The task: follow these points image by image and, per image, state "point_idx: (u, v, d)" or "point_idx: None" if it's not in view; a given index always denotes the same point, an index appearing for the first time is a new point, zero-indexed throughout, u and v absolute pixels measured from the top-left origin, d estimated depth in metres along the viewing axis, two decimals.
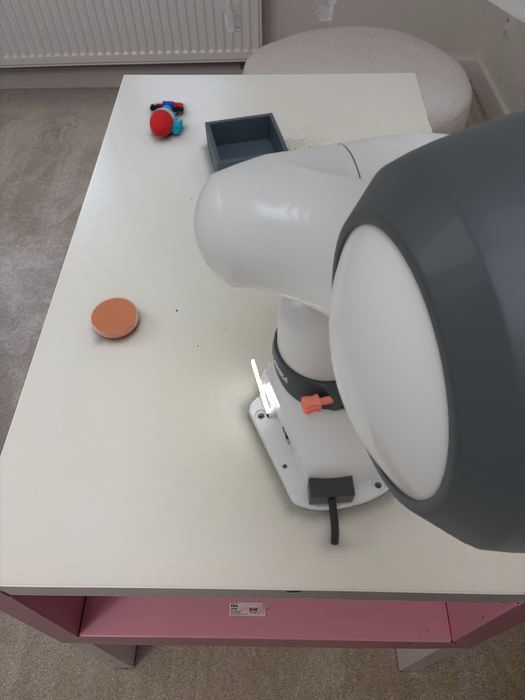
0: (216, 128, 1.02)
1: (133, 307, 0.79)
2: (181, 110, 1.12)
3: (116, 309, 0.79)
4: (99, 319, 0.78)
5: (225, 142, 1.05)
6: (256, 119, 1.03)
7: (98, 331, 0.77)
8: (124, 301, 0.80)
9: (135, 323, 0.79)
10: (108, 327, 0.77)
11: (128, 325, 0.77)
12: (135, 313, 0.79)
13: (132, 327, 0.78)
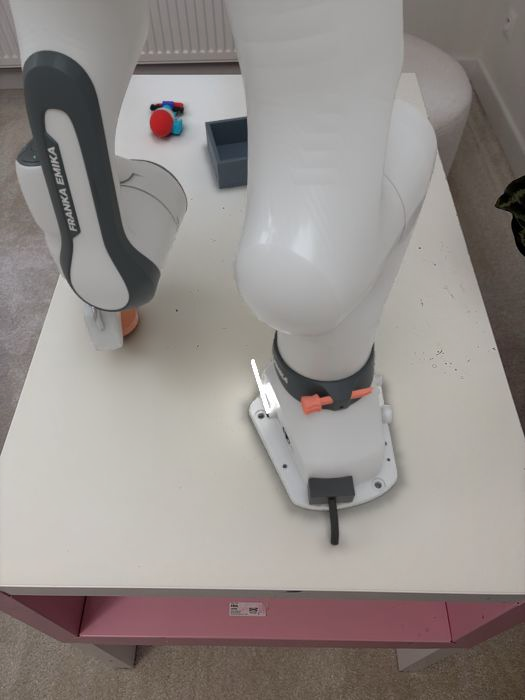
0: (216, 128, 1.02)
1: None
2: (181, 110, 1.12)
3: None
4: None
5: (225, 142, 1.05)
6: None
7: None
8: None
9: (135, 323, 0.79)
10: None
11: (128, 325, 0.77)
12: (135, 313, 0.79)
13: (132, 327, 0.78)
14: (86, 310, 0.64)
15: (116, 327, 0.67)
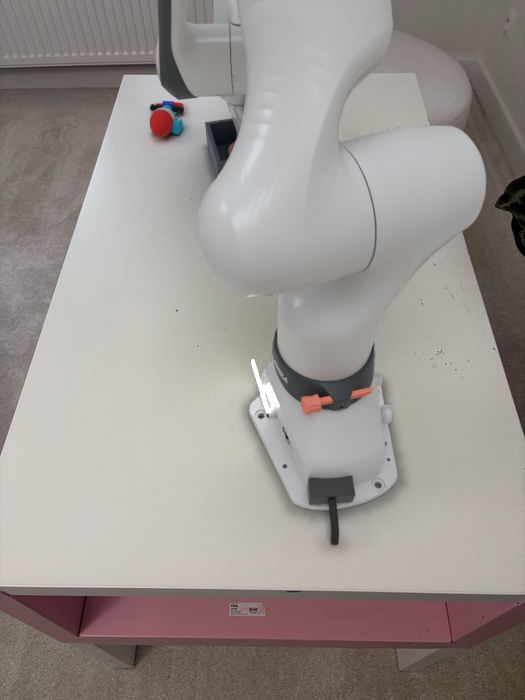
0: (216, 128, 1.02)
1: None
2: (181, 110, 1.12)
3: None
4: None
5: (225, 142, 1.05)
6: None
7: None
8: None
9: None
10: None
11: None
12: None
13: None
14: None
15: None
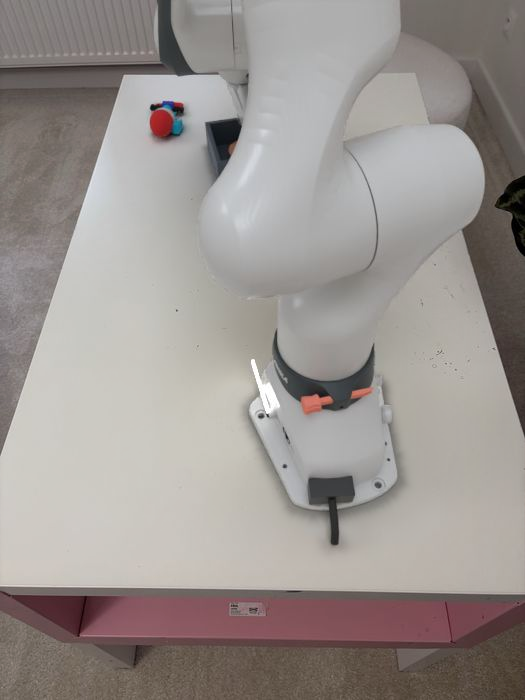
0: (216, 128, 1.02)
1: None
2: (181, 110, 1.12)
3: None
4: None
5: (225, 142, 1.05)
6: None
7: None
8: None
9: None
10: None
11: None
12: None
13: None
14: (248, 98, 0.84)
15: None
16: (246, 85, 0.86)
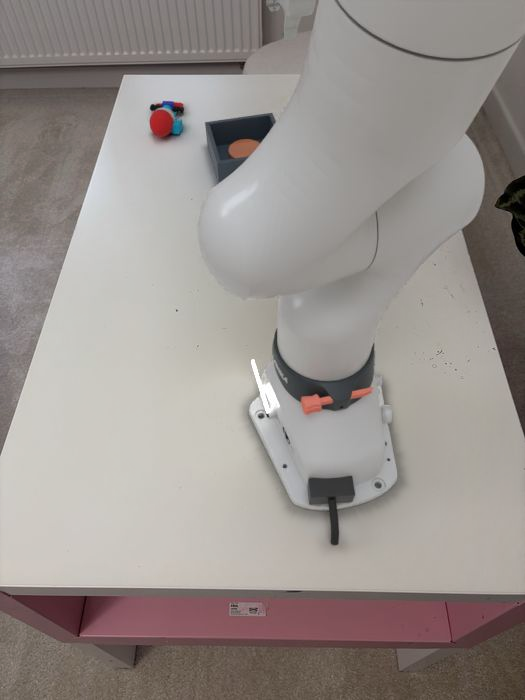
0: (216, 128, 1.02)
1: None
2: (181, 110, 1.12)
3: (246, 146, 1.01)
4: (235, 152, 1.00)
5: (225, 142, 1.05)
6: (256, 119, 1.03)
7: None
8: (252, 141, 1.02)
9: None
10: (243, 156, 0.99)
11: None
12: None
13: None
14: None
15: None
16: None
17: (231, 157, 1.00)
